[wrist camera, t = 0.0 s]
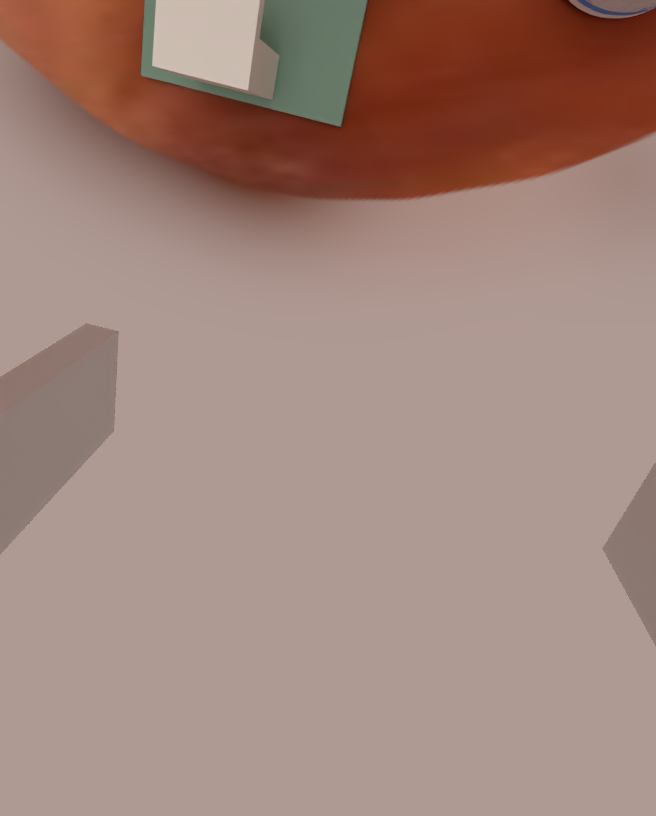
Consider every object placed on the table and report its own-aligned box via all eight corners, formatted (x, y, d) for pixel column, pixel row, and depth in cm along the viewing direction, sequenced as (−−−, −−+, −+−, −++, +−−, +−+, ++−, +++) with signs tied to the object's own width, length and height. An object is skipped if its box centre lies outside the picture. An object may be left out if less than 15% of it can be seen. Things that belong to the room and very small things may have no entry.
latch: (203, -14, 31) (159, -53, 25) (286, 8, 31) (263, -26, 25) (194, 80, 33) (152, 66, 27) (272, 100, 33) (247, 90, 27)
